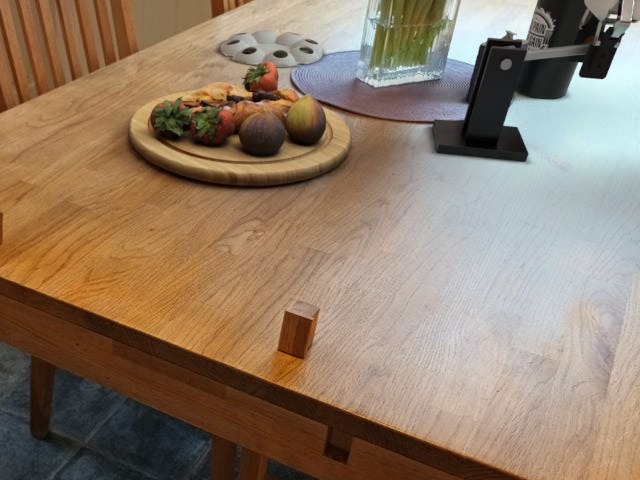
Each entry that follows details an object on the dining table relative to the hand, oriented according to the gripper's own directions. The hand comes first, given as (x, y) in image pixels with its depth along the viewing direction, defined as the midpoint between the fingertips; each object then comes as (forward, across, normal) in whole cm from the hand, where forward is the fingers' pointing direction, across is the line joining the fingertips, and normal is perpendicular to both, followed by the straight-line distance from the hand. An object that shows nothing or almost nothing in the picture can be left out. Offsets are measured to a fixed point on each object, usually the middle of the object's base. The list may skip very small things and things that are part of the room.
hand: (585, 68), depth 96 cm
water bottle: (+12, +27, -2) cm, 30 cm away
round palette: (+12, +37, +45) cm, 59 cm away
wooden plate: (+12, -8, +45) cm, 47 cm away
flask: (+12, +20, +7) cm, 24 cm away
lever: (0, 0, +5) cm, 5 cm away
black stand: (+12, 0, +11) cm, 16 cm away
